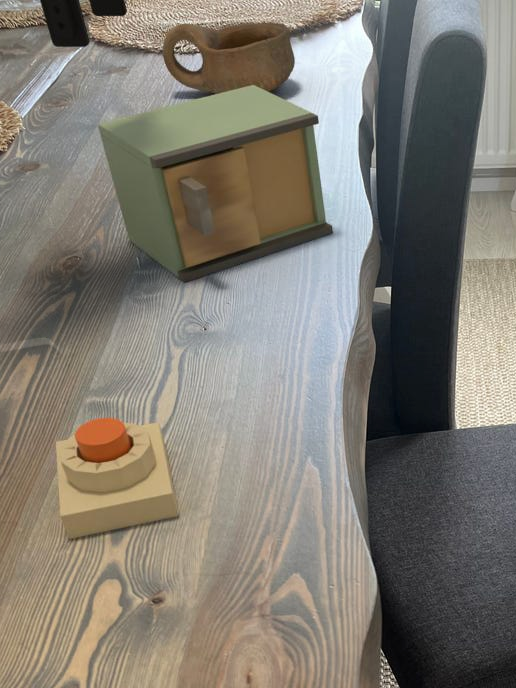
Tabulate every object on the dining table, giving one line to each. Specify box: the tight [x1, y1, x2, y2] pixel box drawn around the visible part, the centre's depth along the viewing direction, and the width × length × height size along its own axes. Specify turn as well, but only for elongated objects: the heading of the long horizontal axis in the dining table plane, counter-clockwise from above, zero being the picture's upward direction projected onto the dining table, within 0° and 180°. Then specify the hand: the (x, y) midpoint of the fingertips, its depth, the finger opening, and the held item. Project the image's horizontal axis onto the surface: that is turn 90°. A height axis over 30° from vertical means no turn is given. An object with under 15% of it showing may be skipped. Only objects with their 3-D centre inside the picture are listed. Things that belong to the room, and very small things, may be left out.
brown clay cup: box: [162, 22, 296, 95], centre depth 141 cm, size 18×14×10 cm
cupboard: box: [97, 85, 334, 283], centre depth 106 cm, size 18×13×12 cm
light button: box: [74, 417, 131, 463], centre depth 75 cm, size 4×4×2 cm
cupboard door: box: [162, 147, 261, 267], centre depth 100 cm, size 9×4×10 cm, turn 128°
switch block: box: [55, 421, 180, 540], centre depth 76 cm, size 10×8×4 cm
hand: (92, 30), depth 91 cm, fingers open, 9 cm apart
